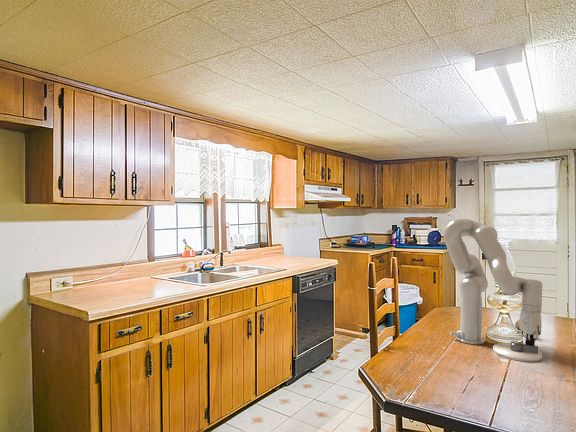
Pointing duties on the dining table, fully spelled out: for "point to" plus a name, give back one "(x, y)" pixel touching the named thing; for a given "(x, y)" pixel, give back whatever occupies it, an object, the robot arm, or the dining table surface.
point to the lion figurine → (518, 326)
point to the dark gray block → (523, 347)
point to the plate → (515, 353)
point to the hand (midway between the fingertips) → (529, 348)
